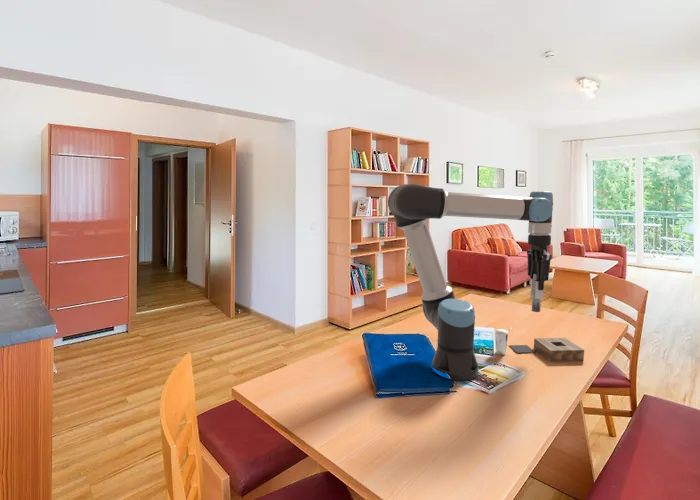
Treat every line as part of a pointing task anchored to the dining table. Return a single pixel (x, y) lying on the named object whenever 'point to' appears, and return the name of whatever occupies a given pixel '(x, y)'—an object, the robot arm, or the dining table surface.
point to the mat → (522, 349)
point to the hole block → (558, 349)
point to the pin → (535, 302)
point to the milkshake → (501, 341)
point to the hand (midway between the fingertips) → (536, 297)
